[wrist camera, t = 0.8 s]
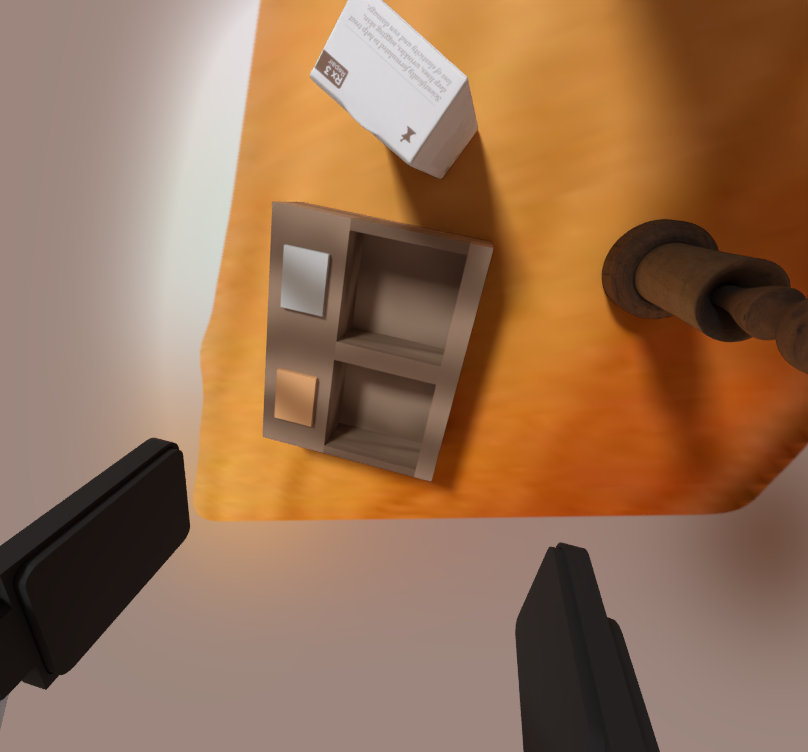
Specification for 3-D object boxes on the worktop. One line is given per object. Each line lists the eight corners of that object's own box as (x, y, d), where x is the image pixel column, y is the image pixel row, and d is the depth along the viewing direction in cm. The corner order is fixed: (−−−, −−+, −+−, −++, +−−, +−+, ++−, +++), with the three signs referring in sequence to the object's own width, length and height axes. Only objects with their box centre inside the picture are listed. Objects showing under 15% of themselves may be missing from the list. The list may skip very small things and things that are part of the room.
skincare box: (481, 126, 27) (480, 73, 16) (439, 184, 29) (413, 171, 18) (411, 62, 27) (362, -38, 16) (372, 126, 28) (304, 76, 18)
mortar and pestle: (620, 327, 31) (777, 464, 14) (587, 251, 29) (721, 309, 13) (716, 284, 29) (1029, 388, 12) (685, 199, 27) (999, 189, 11)
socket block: (302, 202, 31) (269, 201, 26) (491, 241, 30) (493, 249, 25) (288, 410, 39) (260, 439, 34) (437, 448, 38) (430, 484, 33)
